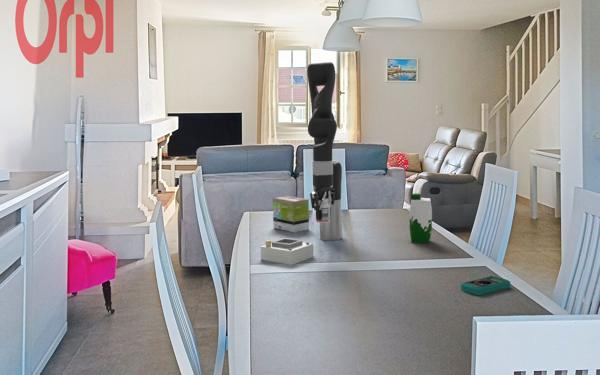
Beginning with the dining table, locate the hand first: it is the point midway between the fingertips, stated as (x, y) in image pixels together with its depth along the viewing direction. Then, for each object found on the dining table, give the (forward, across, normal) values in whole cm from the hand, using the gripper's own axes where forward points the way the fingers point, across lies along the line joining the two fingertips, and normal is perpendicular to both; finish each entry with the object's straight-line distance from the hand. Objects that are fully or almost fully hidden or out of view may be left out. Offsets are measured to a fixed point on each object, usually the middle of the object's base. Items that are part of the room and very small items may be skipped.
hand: (323, 218), depth 217 cm
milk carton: (+16, -45, +19) cm, 51 cm away
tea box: (+16, -38, -43) cm, 59 cm away
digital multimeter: (+16, +6, +63) cm, 65 cm away
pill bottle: (+2, 0, 0) cm, 2 cm away
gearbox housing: (+15, +8, -11) cm, 20 cm away
